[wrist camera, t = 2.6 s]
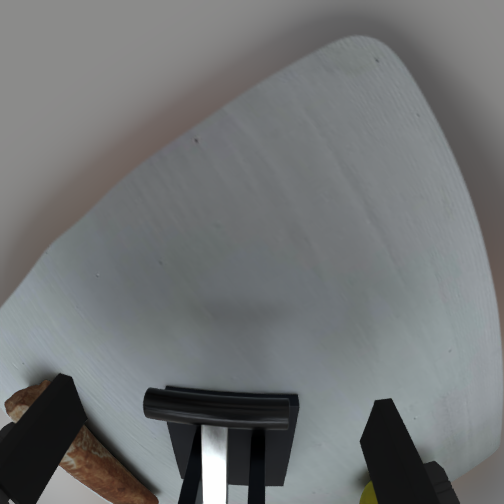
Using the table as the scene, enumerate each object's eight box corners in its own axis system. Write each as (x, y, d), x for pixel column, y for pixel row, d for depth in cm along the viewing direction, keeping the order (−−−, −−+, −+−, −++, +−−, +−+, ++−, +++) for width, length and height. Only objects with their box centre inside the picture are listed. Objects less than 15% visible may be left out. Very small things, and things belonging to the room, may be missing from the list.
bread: (56, 366, 19) (20, 406, 14) (170, 495, 23) (161, 534, 18) (20, 373, 20) (-12, 406, 14) (127, 493, 24) (115, 527, 19)
